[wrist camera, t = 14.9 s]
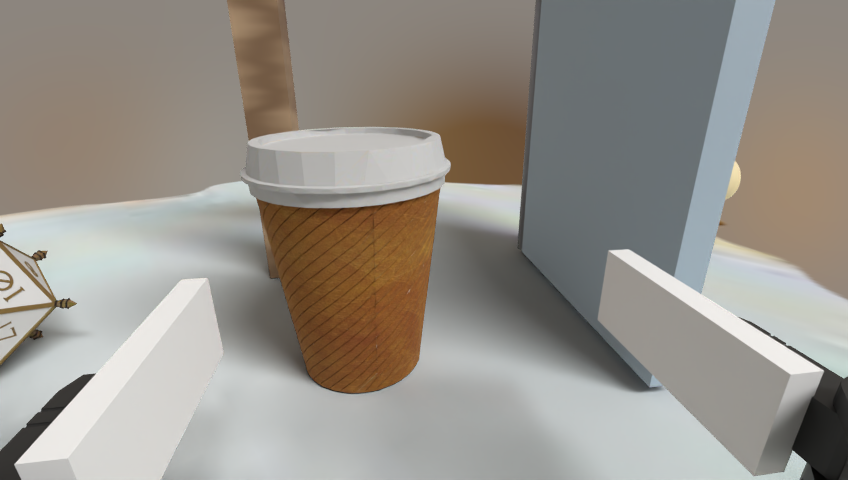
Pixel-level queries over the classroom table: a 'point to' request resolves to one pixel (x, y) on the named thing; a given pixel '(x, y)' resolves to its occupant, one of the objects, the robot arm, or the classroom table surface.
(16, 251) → the game die
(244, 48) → the door frame
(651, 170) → the door
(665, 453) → the classroom table surface
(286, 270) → the disposable coffee cup
